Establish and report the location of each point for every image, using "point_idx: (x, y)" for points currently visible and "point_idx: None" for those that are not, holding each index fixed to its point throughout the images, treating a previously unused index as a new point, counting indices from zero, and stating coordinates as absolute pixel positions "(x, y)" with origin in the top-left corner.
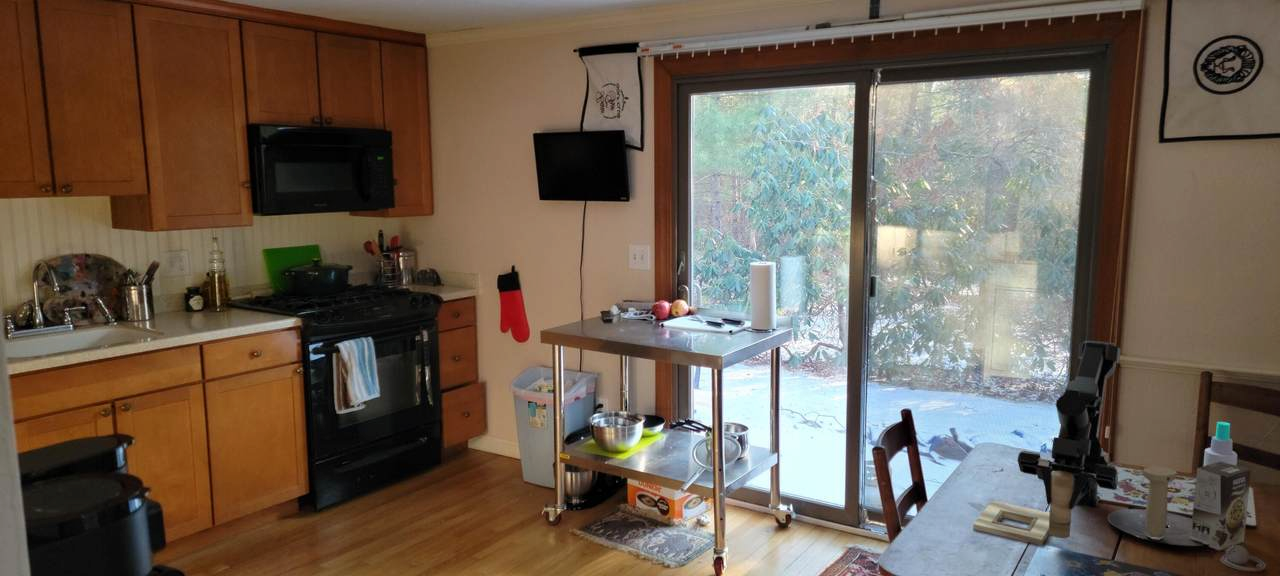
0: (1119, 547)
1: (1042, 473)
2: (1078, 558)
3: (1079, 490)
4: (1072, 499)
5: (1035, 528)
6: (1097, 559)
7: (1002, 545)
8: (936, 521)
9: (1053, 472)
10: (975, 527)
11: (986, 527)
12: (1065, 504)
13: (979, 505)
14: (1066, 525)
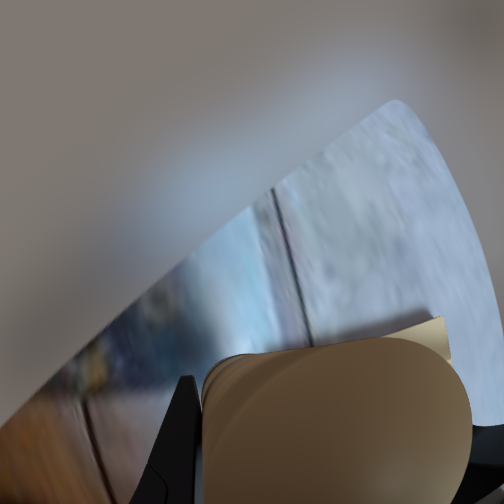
0: (102, 490)
1: (494, 428)
2: (156, 344)
3: (150, 480)
4: (189, 411)
5: None
6: (112, 373)
7: (351, 277)
8: (479, 295)
9: (466, 444)
10: (434, 318)
11: (419, 324)
12: (223, 371)
13: None
14: (208, 374)
